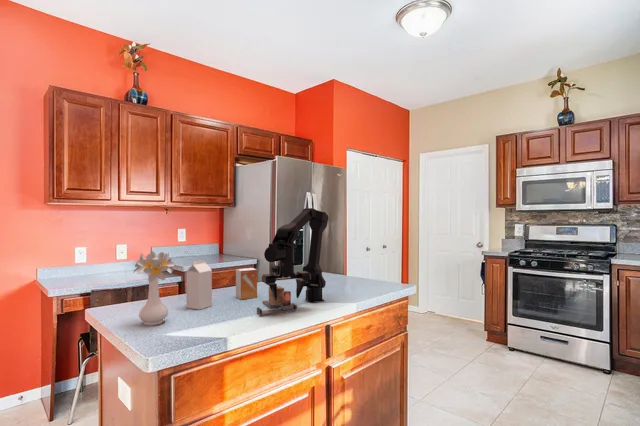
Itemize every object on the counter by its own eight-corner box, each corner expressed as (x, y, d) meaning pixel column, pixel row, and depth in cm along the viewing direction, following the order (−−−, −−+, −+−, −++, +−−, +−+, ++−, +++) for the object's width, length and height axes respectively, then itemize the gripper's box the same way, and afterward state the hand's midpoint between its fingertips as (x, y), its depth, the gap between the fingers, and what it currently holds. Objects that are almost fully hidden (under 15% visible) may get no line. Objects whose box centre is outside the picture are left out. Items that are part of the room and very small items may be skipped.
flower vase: (142, 333, 115) (142, 255, 115) (128, 320, 129) (128, 251, 129) (183, 325, 124) (183, 252, 124) (166, 314, 138) (166, 248, 138)
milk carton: (212, 306, 150) (211, 260, 150) (199, 310, 143) (199, 262, 143) (198, 304, 153) (198, 259, 153) (186, 308, 146) (186, 261, 146)
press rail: (293, 309, 144) (293, 303, 144) (297, 311, 141) (297, 305, 141) (256, 314, 138) (256, 307, 138) (260, 316, 134) (260, 310, 134)
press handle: (289, 306, 144) (289, 290, 144) (293, 308, 140) (293, 292, 140) (280, 307, 142) (280, 291, 142) (283, 310, 138) (283, 293, 138)
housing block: (279, 299, 155) (279, 285, 155) (284, 302, 151) (284, 287, 151) (268, 301, 153) (268, 286, 153) (272, 303, 148) (272, 289, 148)
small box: (240, 300, 160) (240, 270, 160) (235, 297, 166) (235, 269, 166) (257, 297, 165) (257, 269, 165) (252, 295, 170) (252, 267, 170)
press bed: (281, 301, 158) (281, 298, 158) (290, 306, 149) (290, 303, 149) (262, 303, 154) (262, 300, 154) (269, 308, 145) (269, 305, 145)
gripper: (300, 255, 152) (300, 292, 152) (257, 258, 144) (257, 297, 144) (311, 258, 142) (311, 298, 142) (266, 261, 134) (266, 303, 134)
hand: (286, 299), depth 141 cm, fingers open, 9 cm apart
